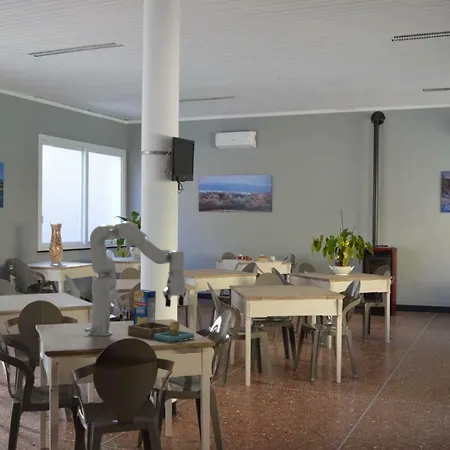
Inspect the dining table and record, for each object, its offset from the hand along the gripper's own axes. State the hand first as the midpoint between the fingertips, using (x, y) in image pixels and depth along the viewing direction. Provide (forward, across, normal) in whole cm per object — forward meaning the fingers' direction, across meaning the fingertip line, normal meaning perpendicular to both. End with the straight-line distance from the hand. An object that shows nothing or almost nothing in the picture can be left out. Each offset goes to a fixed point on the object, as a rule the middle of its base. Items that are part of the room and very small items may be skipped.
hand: (174, 305), depth 340 cm
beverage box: (+19, +12, +36) cm, 43 cm away
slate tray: (+18, 0, -1) cm, 18 cm away
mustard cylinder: (+16, 0, -1) cm, 16 cm away
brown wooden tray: (+18, 0, +17) cm, 25 cm away
